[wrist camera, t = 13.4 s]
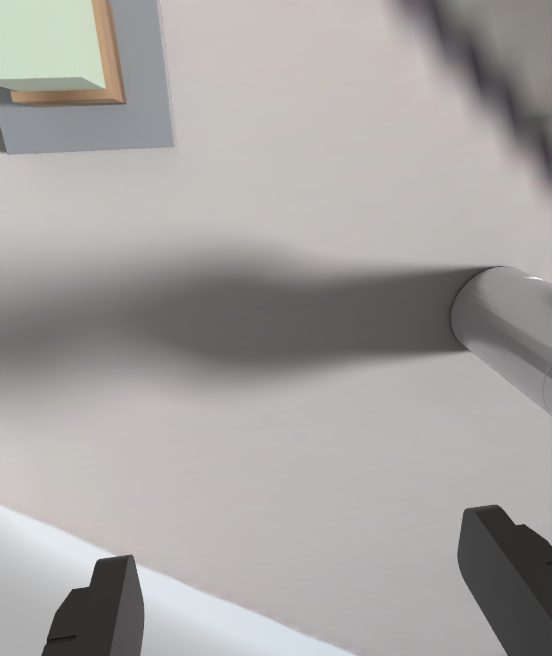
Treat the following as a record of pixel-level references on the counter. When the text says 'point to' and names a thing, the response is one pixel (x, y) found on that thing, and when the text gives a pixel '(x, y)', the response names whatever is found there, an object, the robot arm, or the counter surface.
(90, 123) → the slate trivet
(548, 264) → the counter surface
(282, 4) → the counter surface
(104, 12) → the walnut block
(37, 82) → the sage block
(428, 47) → the counter surface
